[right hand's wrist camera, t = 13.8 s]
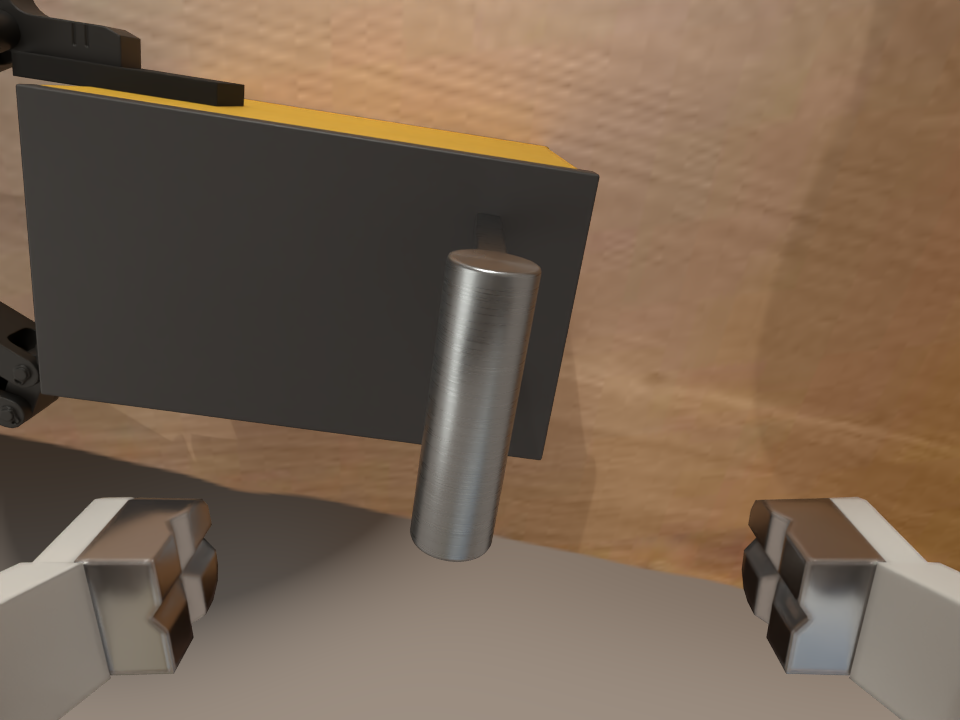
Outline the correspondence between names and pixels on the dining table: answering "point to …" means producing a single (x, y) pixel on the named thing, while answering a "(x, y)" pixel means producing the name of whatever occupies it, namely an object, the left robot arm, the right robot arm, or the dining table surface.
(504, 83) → the dining table surface
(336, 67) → the dining table surface
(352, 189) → the lid
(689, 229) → the dining table surface
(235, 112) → the chest
